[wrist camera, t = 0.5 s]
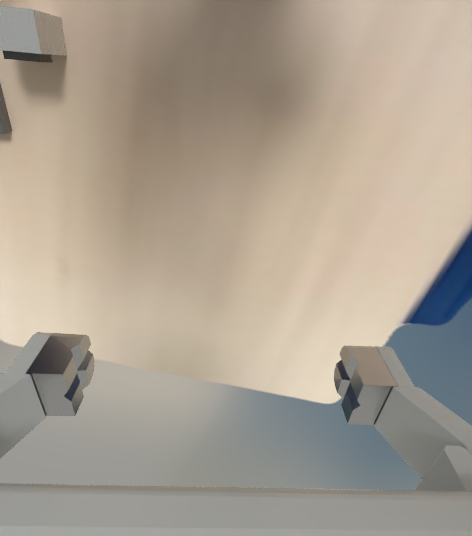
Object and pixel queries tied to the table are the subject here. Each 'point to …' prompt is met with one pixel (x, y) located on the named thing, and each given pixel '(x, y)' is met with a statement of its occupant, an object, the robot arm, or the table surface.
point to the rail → (4, 116)
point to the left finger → (30, 35)
